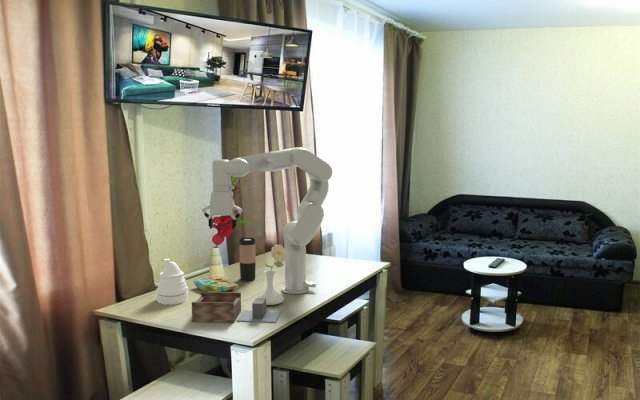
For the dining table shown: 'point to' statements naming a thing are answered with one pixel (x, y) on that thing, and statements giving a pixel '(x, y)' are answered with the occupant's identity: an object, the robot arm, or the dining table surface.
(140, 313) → the dining table surface
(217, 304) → the walnut box
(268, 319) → the cover plate
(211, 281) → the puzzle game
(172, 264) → the honey pot
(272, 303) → the flower in vase
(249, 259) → the travel mug
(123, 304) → the dining table surface
